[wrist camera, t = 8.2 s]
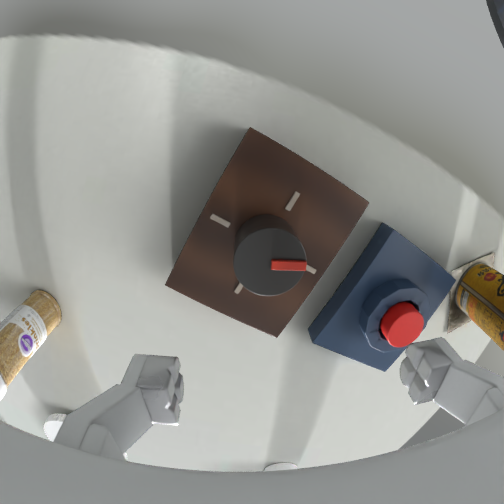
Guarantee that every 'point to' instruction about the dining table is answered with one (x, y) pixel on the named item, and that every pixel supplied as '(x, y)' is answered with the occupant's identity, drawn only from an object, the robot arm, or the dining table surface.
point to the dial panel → (259, 203)
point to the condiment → (478, 298)
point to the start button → (401, 324)
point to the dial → (268, 256)
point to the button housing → (379, 298)
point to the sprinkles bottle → (25, 334)
